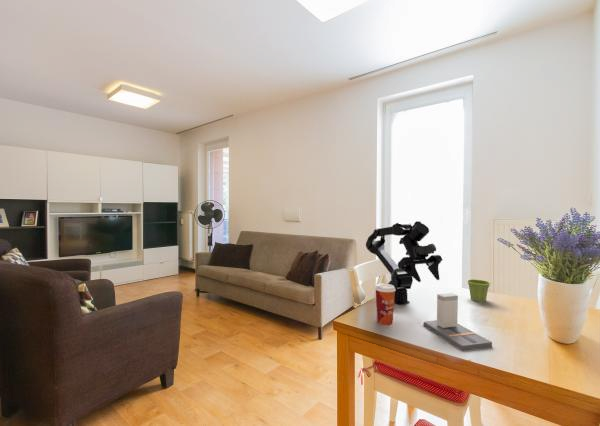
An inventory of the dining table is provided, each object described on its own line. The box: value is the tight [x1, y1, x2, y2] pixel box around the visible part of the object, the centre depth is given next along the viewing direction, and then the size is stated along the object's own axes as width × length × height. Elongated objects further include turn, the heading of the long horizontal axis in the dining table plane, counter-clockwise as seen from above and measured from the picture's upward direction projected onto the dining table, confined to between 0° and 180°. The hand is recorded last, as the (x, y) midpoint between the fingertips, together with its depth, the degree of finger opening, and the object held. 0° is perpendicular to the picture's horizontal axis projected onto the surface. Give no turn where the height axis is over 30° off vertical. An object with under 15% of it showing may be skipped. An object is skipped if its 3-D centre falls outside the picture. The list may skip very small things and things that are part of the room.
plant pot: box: [466, 278, 491, 303], centre depth 138 cm, size 9×9×9 cm
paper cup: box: [374, 283, 396, 326], centre depth 113 cm, size 8×8×14 cm
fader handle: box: [436, 292, 459, 328], centre depth 105 cm, size 3×6×11 cm, turn 103°
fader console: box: [423, 319, 493, 352], centre depth 101 cm, size 19×11×2 cm, turn 13°
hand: (429, 280), depth 118 cm, fingers open, 9 cm apart
